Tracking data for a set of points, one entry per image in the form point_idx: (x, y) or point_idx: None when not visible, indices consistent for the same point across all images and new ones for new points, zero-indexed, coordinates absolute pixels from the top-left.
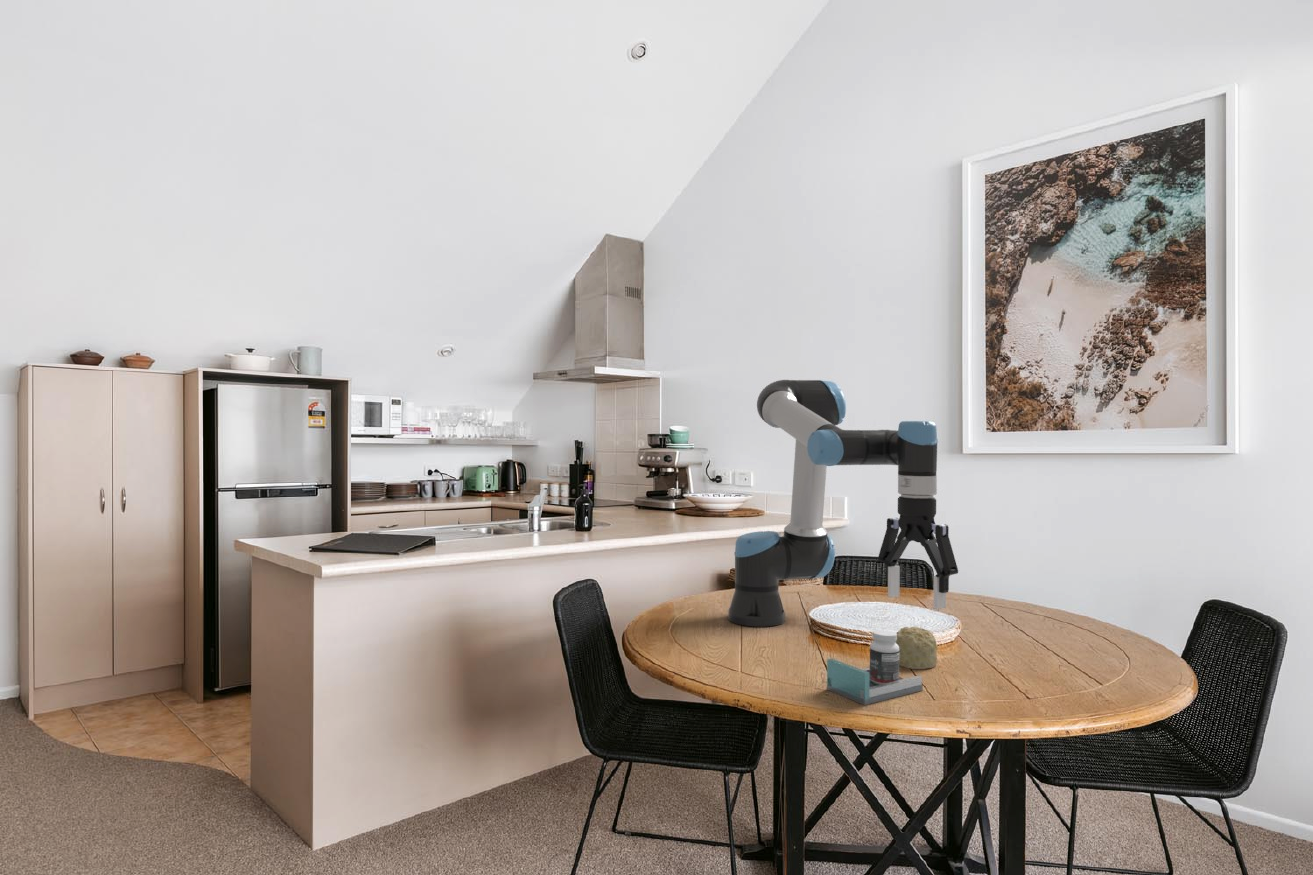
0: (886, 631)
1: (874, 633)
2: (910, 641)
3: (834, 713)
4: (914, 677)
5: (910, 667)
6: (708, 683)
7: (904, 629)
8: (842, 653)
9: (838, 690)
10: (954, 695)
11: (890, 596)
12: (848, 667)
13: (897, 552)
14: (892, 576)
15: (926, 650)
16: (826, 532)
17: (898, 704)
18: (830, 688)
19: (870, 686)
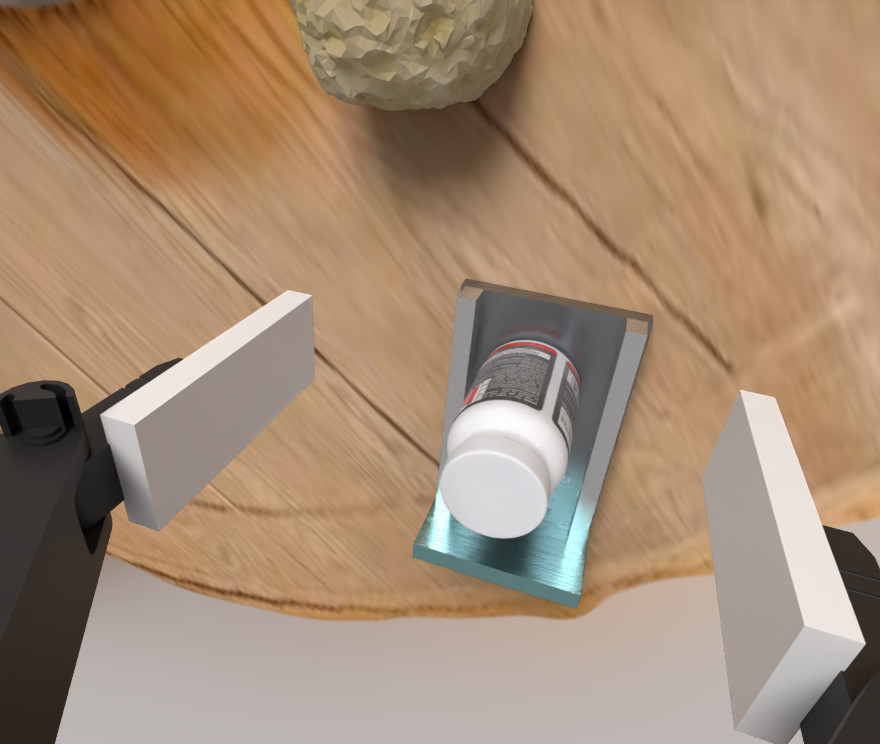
0: (483, 475)
1: (471, 529)
2: (423, 91)
3: (564, 609)
4: (628, 359)
5: (471, 100)
6: (273, 596)
7: (328, 31)
8: (207, 159)
9: None
10: (781, 275)
11: (309, 382)
12: (505, 586)
13: (59, 673)
14: (218, 451)
15: (504, 39)
16: None
17: (655, 477)
18: None
19: None
